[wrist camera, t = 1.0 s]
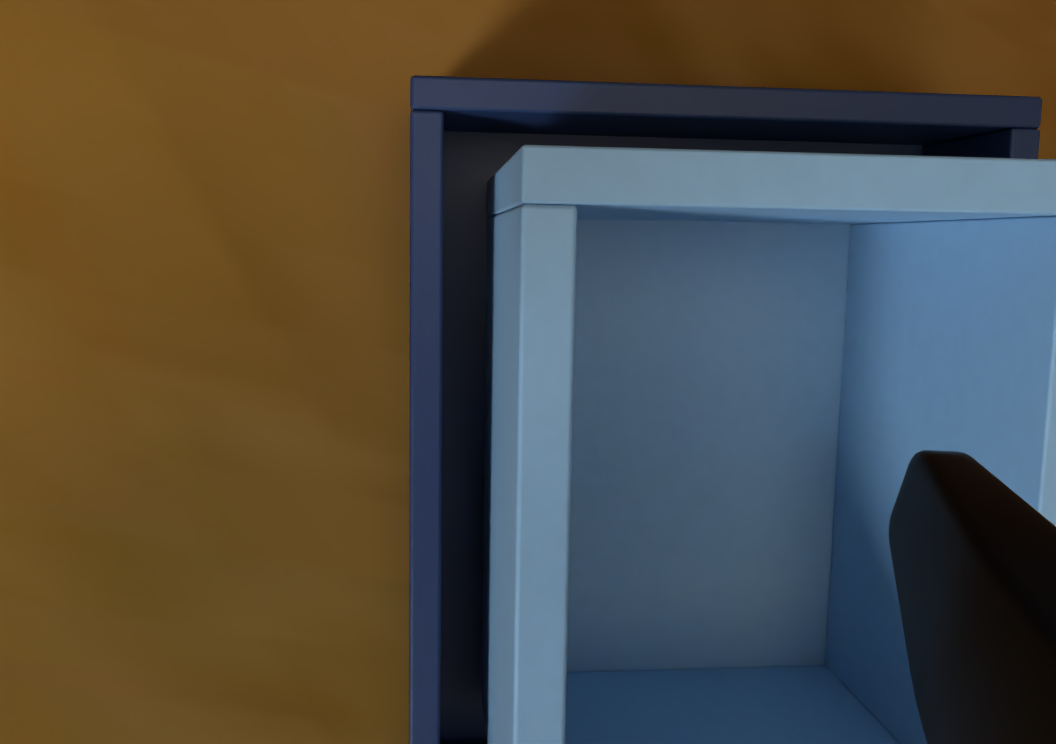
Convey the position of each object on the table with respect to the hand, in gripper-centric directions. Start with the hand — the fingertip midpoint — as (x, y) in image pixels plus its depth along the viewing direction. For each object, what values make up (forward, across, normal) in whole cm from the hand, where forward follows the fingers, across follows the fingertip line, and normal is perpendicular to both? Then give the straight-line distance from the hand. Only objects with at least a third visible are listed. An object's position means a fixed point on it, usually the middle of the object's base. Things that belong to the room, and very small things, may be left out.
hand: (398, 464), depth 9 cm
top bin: (+11, -4, +9) cm, 15 cm away
